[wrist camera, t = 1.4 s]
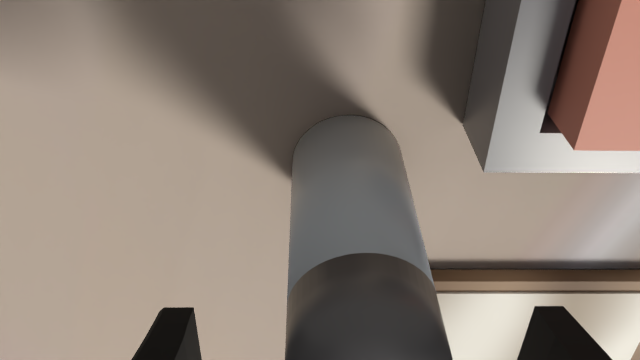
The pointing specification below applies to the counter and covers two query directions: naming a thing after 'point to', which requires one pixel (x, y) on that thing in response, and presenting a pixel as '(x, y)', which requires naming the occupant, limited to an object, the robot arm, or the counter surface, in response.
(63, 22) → the counter surface
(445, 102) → the counter surface
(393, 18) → the counter surface
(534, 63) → the button housing
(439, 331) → the cylinder
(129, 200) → the counter surface
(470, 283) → the board
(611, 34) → the button
